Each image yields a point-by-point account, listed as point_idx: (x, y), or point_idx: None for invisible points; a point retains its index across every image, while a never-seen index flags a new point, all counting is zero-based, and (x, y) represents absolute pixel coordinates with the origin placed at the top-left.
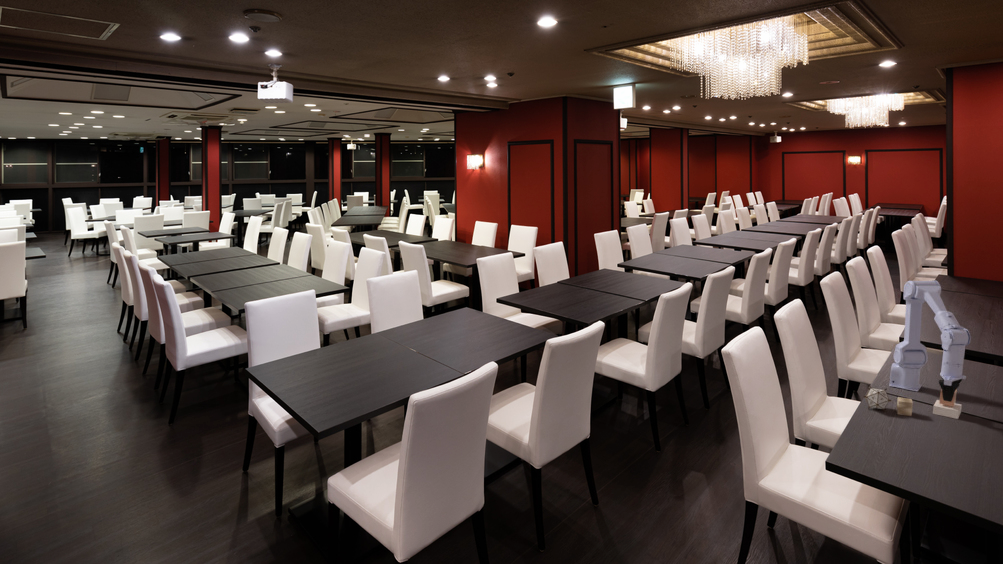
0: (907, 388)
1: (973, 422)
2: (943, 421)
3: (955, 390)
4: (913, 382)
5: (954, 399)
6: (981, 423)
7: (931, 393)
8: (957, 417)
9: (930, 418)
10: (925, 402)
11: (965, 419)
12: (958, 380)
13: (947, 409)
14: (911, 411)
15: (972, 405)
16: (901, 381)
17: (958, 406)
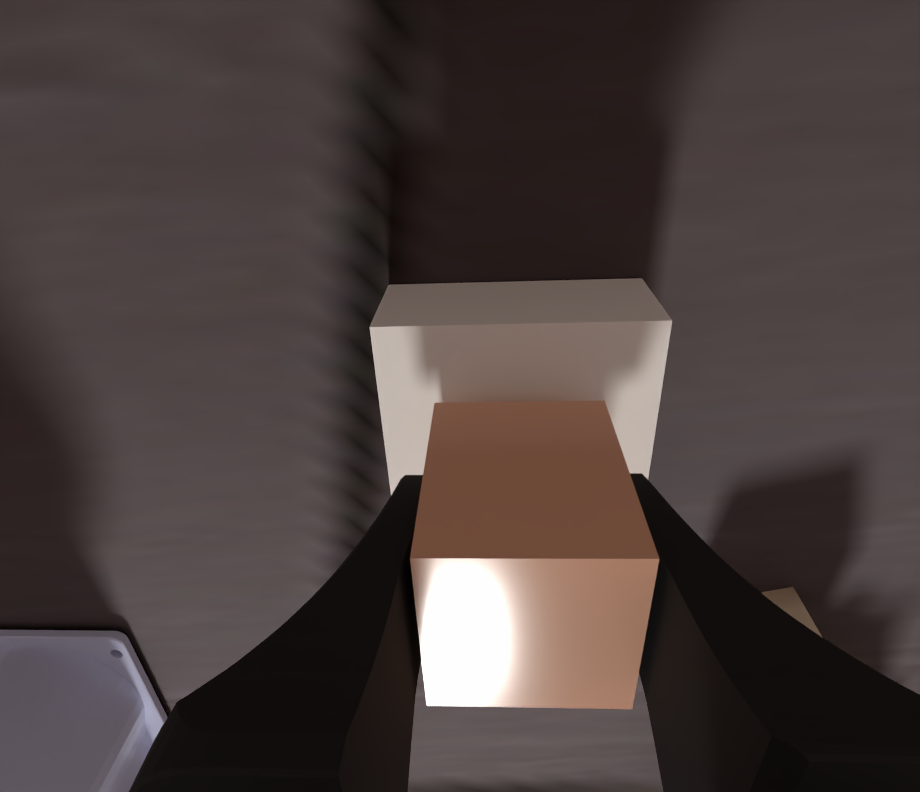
0: (138, 688)
1: (657, 108)
2: (805, 379)
3: (485, 568)
4: (68, 726)
5: (612, 464)
6: (637, 8)
7: (48, 554)
8: (644, 290)
9: (774, 476)
10: (339, 557)
11: (598, 207)
12: (355, 774)
13: (653, 426)
14: (814, 628)
15: (14, 215)
16: (118, 769)
17: (476, 348)
